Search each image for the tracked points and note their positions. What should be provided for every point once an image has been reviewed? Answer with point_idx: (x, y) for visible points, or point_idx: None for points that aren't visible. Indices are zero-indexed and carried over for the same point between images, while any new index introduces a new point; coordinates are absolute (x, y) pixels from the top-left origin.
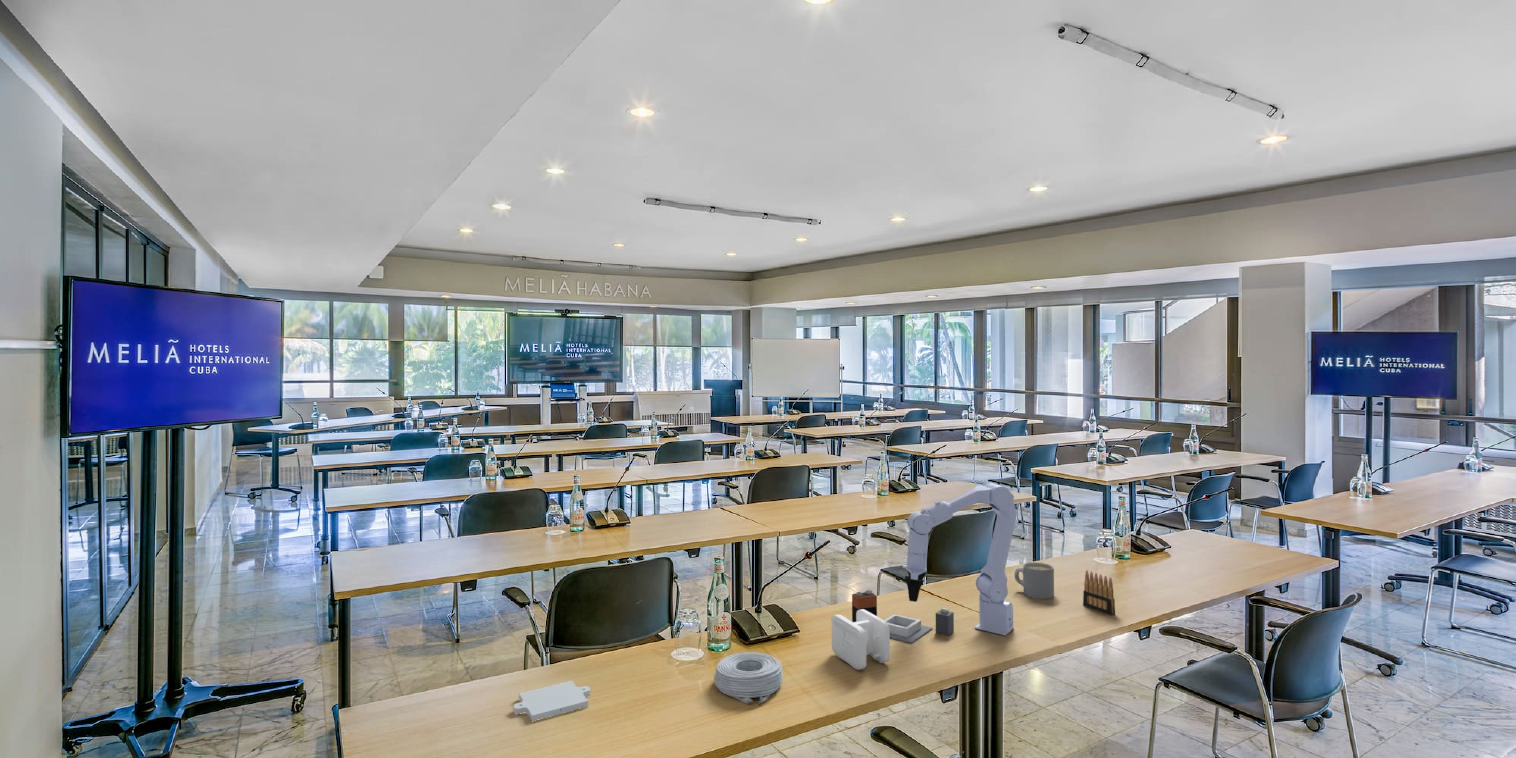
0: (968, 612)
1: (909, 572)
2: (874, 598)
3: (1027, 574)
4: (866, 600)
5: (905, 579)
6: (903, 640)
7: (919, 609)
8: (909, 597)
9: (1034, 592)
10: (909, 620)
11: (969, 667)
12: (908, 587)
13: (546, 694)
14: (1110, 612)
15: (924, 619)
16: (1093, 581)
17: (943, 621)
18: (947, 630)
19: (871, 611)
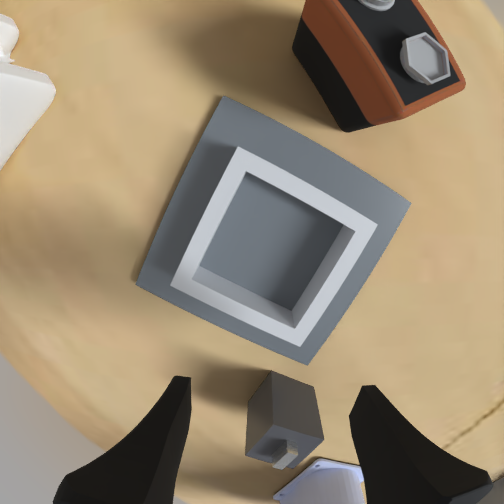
0: (443, 434)
1: (428, 499)
2: (380, 101)
3: None
4: (341, 44)
5: (61, 484)
6: (148, 252)
7: (494, 313)
8: (166, 390)
9: (478, 502)
10: (312, 294)
11: (49, 400)
12: (118, 444)
13: None
14: None
15: (409, 334)
16: None
17: (255, 425)
18: (249, 413)
19: (342, 95)
